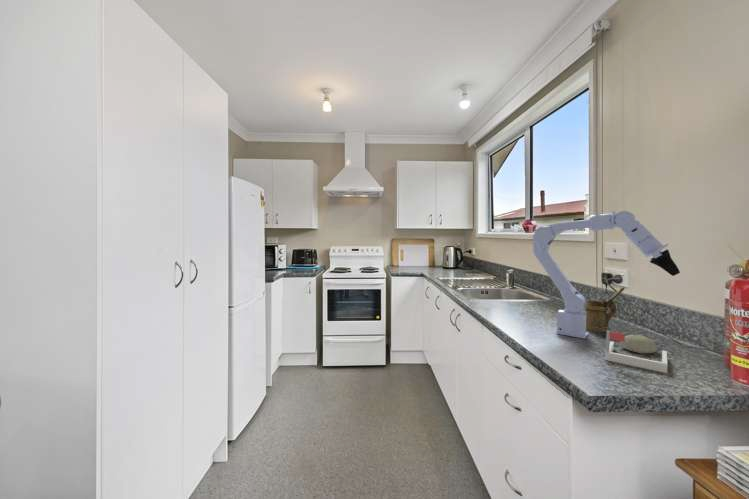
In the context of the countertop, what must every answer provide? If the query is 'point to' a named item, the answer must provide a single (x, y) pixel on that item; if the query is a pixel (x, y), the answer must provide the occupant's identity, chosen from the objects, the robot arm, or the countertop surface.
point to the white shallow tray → (630, 359)
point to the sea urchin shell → (639, 344)
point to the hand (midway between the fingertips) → (676, 272)
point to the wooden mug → (600, 313)
